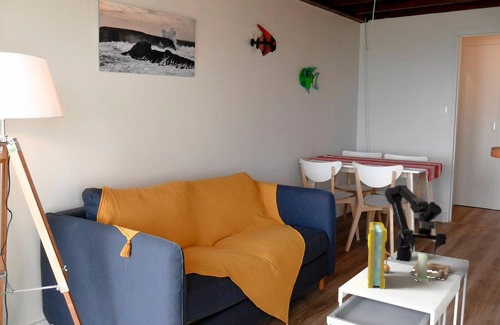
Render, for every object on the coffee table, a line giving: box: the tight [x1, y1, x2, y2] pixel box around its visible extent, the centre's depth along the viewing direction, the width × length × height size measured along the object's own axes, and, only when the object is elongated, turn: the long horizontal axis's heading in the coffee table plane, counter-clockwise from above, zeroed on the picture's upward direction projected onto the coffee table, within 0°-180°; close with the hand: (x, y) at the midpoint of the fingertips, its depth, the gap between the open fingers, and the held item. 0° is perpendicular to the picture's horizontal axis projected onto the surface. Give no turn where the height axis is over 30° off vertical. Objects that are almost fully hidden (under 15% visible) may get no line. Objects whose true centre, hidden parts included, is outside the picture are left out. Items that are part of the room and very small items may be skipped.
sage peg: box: [414, 252, 430, 283], centre depth 208 cm, size 6×6×12 cm
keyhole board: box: [409, 260, 451, 280], centre depth 221 cm, size 15×18×2 cm
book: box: [367, 221, 388, 290], centre depth 205 cm, size 17×7×25 cm, turn 168°
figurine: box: [384, 248, 394, 274], centre depth 218 cm, size 8×6×12 cm
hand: (423, 252), depth 212 cm, fingers open, 9 cm apart
